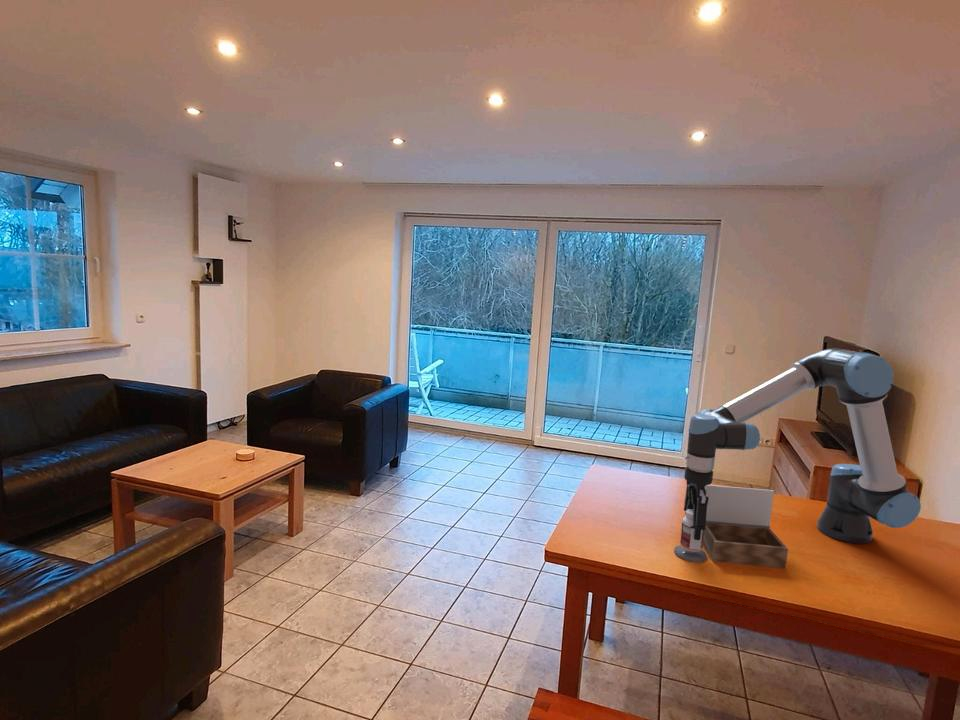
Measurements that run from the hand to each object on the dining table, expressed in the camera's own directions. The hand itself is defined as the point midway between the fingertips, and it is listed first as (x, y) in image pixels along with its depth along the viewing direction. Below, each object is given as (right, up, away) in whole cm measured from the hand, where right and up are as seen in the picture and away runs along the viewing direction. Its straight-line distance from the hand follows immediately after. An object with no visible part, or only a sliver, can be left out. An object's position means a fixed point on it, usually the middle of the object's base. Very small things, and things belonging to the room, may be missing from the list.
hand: (691, 542), depth 158 cm
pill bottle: (0, -2, 0) cm, 2 cm away
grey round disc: (0, -4, +1) cm, 4 cm away
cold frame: (+16, -4, +4) cm, 17 cm away
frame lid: (+17, +3, +8) cm, 19 cm away
